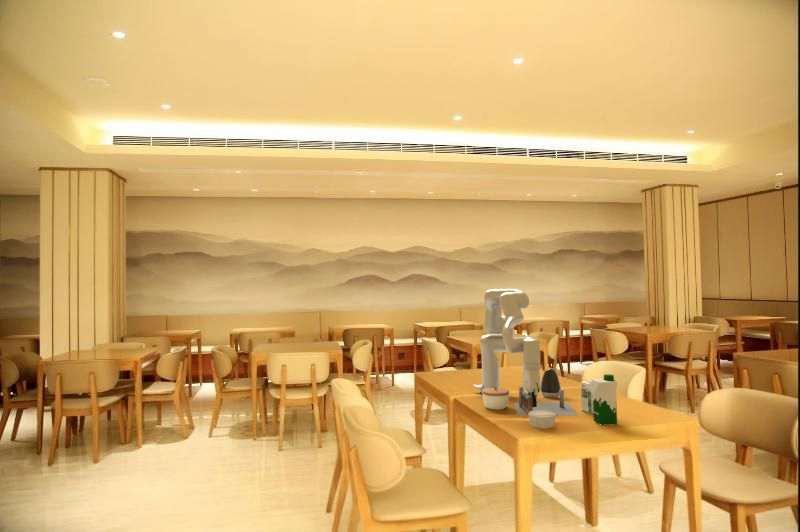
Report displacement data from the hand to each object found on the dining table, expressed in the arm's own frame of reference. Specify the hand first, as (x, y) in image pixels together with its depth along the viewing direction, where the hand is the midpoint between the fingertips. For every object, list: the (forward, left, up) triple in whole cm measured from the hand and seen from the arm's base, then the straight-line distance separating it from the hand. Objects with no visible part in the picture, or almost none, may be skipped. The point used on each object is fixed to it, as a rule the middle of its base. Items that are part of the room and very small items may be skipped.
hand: (532, 406), depth 238 cm
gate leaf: (-3, +2, -2) cm, 4 cm away
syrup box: (+26, +4, -4) cm, 27 cm away
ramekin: (+2, -17, -4) cm, 18 cm away
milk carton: (+29, -10, -4) cm, 31 cm away
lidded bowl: (-16, +9, -4) cm, 19 cm away
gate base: (+6, +8, -4) cm, 11 cm away
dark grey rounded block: (+13, +36, -4) cm, 39 cm away
